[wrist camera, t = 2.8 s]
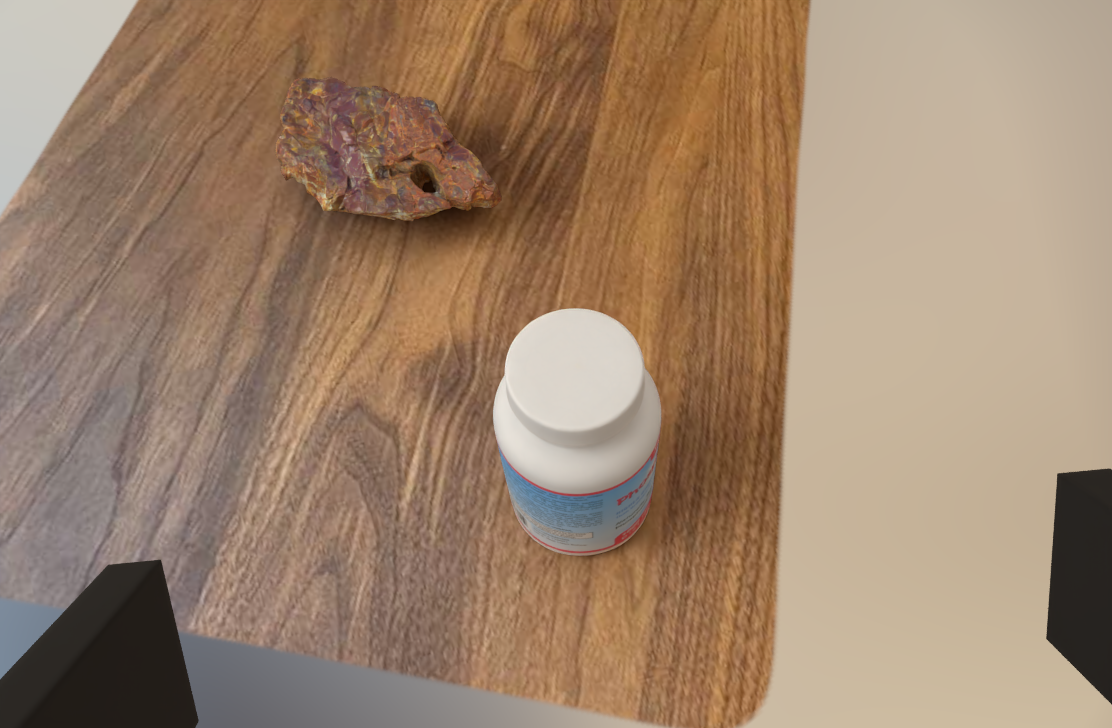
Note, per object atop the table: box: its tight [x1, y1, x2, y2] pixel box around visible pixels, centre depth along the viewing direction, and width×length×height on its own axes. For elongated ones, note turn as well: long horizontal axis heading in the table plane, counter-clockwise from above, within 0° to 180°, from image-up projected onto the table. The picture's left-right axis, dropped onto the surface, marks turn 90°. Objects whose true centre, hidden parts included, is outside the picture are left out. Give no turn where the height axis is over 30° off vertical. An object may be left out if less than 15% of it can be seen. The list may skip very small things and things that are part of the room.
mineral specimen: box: [276, 77, 501, 221], centre depth 45 cm, size 12×8×7 cm
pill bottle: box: [493, 309, 661, 556], centre depth 34 cm, size 6×6×11 cm
